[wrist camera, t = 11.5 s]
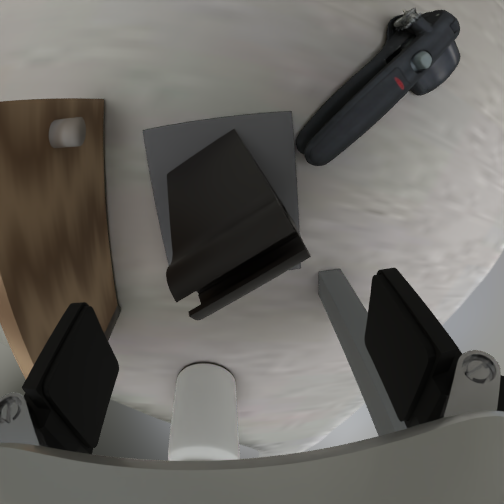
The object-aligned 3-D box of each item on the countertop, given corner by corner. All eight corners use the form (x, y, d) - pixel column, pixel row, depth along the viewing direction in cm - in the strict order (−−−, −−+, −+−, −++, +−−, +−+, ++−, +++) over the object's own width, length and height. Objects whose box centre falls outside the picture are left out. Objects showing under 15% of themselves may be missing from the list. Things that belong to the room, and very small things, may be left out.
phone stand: (295, 224, 25) (343, 313, 15) (232, 262, 27) (237, 367, 16) (234, 127, 22) (241, 144, 11) (167, 172, 23) (116, 231, 12)
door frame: (340, 268, 28) (465, 496, 8) (339, 291, 29) (446, 512, 9) (82, 297, 27) (-17, 502, 8) (90, 318, 28) (8, 519, 9)
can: (202, 351, 31) (197, 453, 20) (247, 380, 33) (256, 475, 22) (165, 380, 33) (152, 473, 22) (209, 405, 35) (208, 492, 24)
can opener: (408, 0, 18) (444, -16, 13) (454, 61, 20) (494, 59, 15) (263, 120, 22) (273, 123, 17) (324, 183, 25) (348, 203, 20)
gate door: (135, 317, 28) (95, 443, 16) (106, 315, 28) (55, 434, 15) (123, 97, 20) (7, 95, 7) (87, 100, 20) (-42, 110, 7)
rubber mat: (290, 110, 22) (291, 111, 22) (299, 266, 28) (300, 268, 27) (144, 130, 22) (142, 130, 21) (173, 281, 27) (173, 283, 27)
